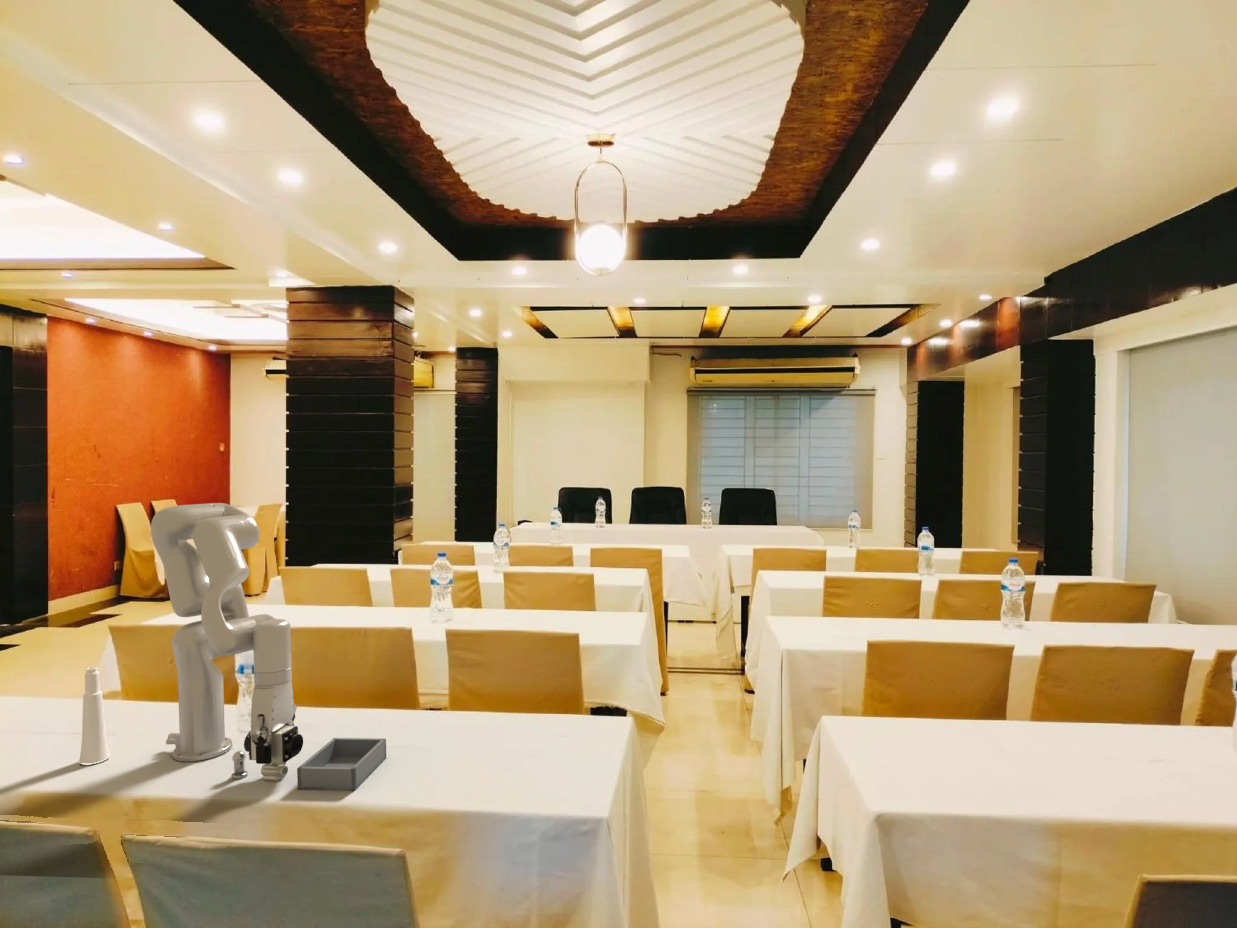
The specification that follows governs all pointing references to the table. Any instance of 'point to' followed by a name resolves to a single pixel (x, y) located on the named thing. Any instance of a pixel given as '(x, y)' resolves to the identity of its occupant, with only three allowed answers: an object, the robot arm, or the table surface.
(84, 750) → the cosmetic bottle
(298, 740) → the pneumatic valve
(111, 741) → the table surface
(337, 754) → the tray
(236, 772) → the metal knob
